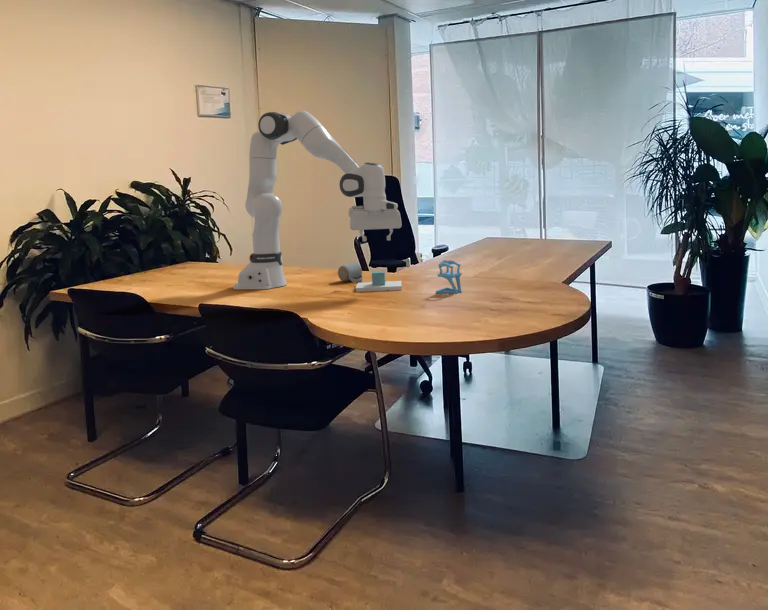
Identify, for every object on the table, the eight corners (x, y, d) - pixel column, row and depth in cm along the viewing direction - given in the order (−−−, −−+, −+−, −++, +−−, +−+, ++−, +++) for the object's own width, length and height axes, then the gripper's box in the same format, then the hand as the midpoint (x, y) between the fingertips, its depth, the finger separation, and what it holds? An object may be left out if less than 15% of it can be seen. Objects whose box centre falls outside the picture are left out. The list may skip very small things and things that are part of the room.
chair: (454, 295, 237) (453, 262, 235) (435, 293, 242) (434, 261, 240) (465, 291, 243) (464, 259, 241) (446, 289, 248) (445, 258, 246)
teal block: (372, 285, 256) (371, 273, 254) (372, 283, 260) (372, 271, 259) (385, 285, 255) (384, 272, 254) (385, 283, 260) (384, 270, 259)
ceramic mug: (337, 281, 279) (336, 263, 277) (351, 278, 284) (350, 261, 282) (353, 284, 271) (352, 266, 269) (367, 281, 276) (366, 263, 275)
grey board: (355, 291, 253) (355, 288, 252) (357, 286, 264) (357, 282, 264) (401, 289, 252) (401, 286, 252) (401, 284, 264) (401, 280, 263)
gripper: (347, 206, 249) (349, 242, 251) (400, 204, 248) (402, 240, 251) (348, 205, 255) (350, 241, 258) (400, 203, 254) (402, 238, 257)
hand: (376, 240), depth 254 cm, fingers open, 8 cm apart
